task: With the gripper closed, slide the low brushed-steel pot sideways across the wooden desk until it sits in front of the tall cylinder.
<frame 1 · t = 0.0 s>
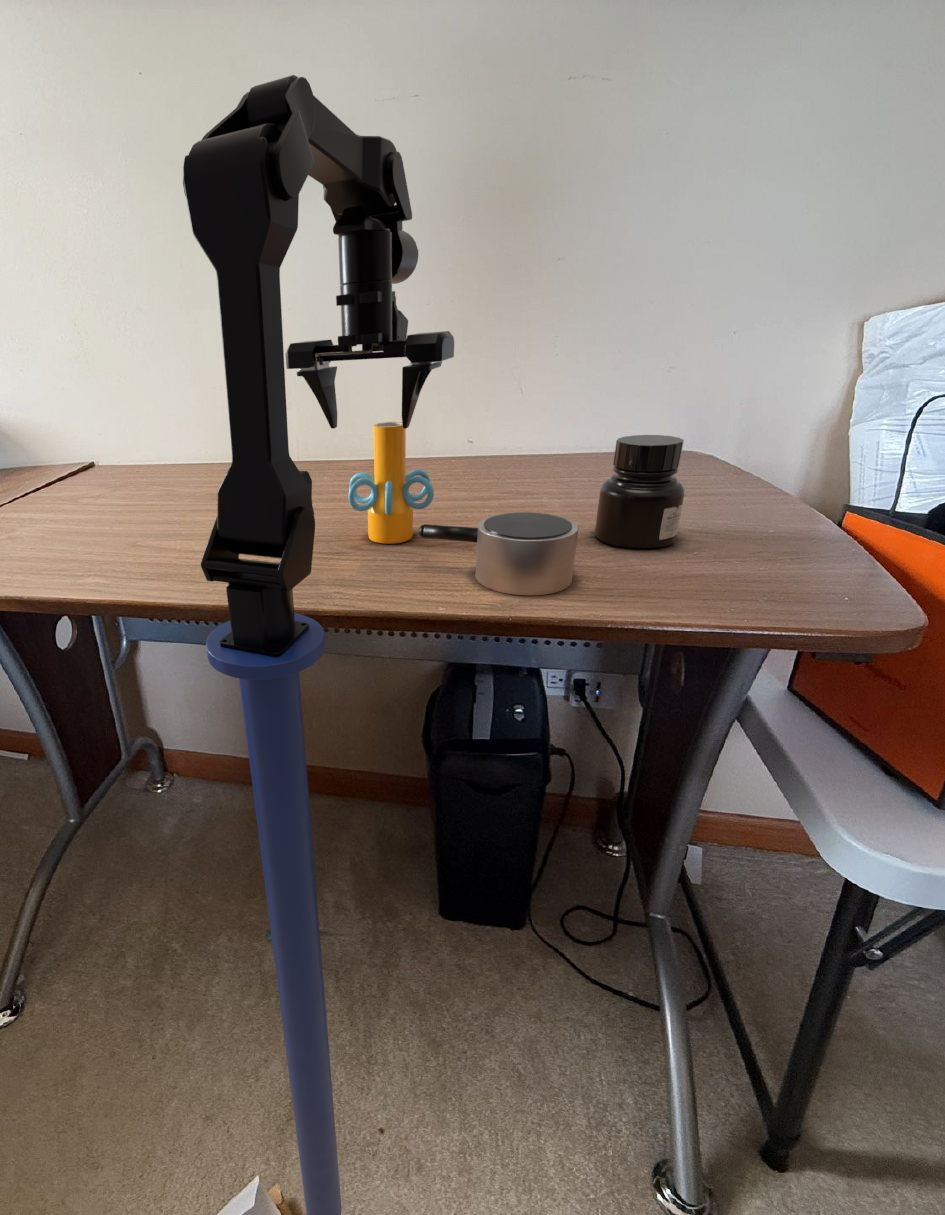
hand: (369, 427, 75), 15 cm above the table, tool pointing down, fingers open, 9 cm apart
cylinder: (390, 539, 85), on the table
ink bottle: (633, 540, 77), on the table
pot: (522, 577, 69), on the table
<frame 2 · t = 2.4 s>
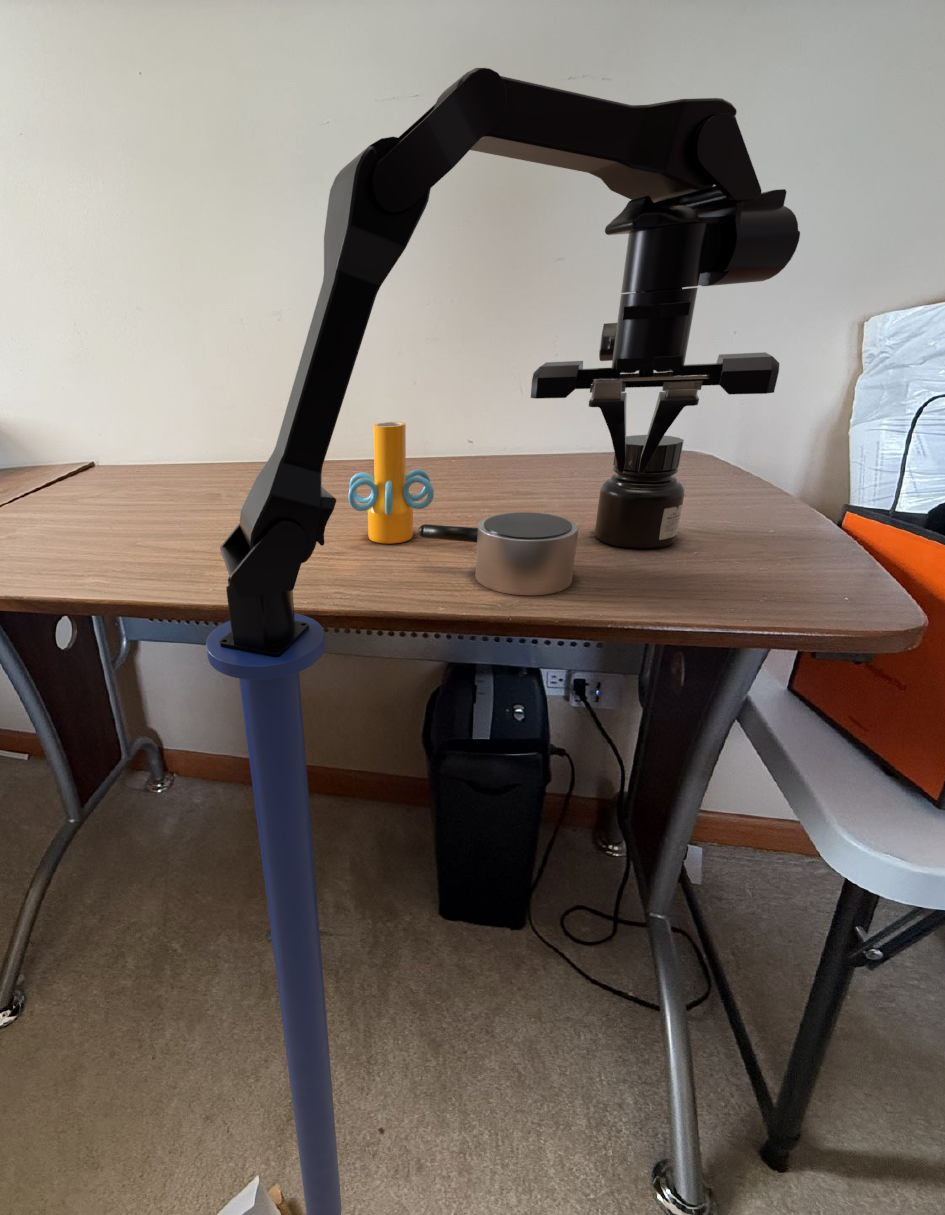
hand: (631, 471, 60), 12 cm above the table, tool pointing down, fingers closed
nothing on the table moved.
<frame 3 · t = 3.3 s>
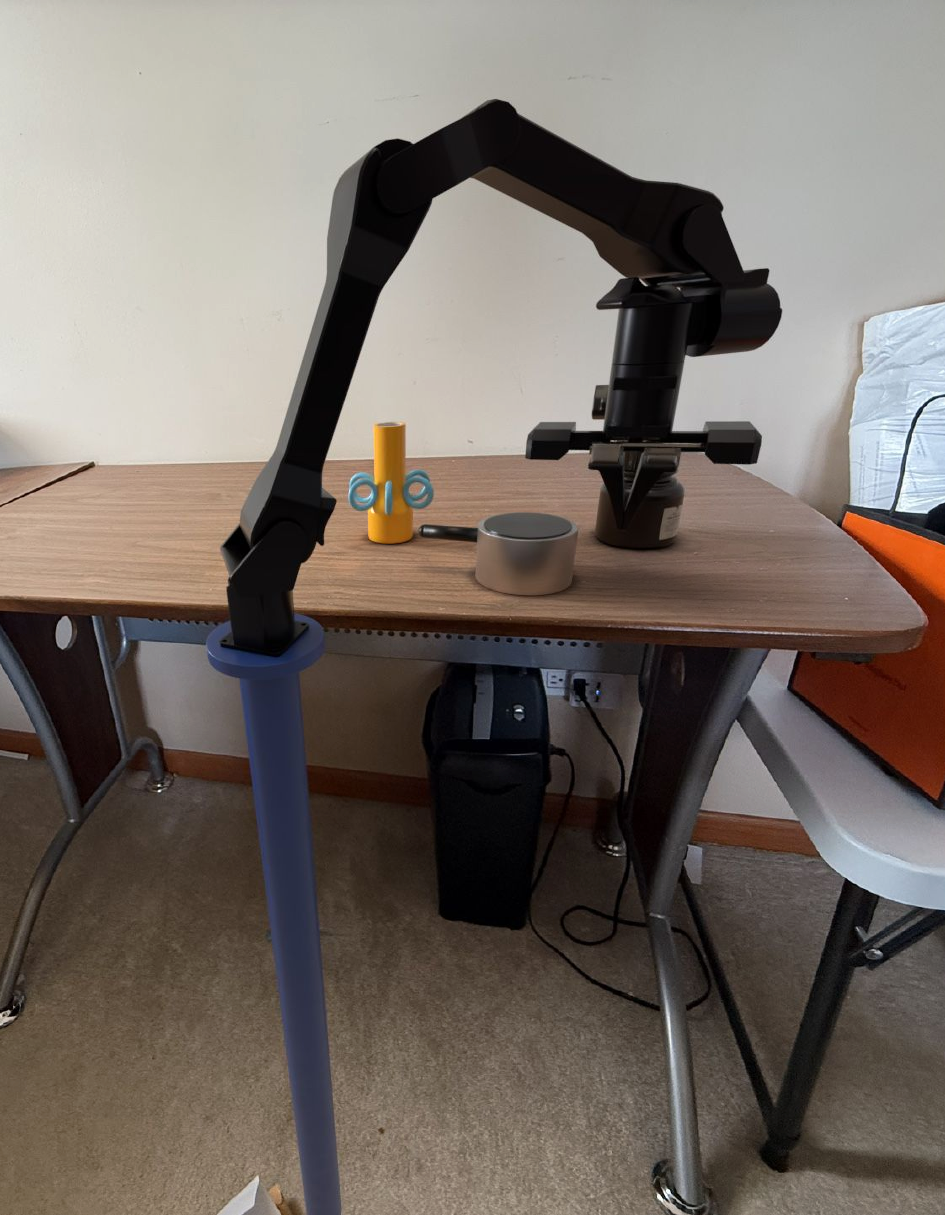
hand: (621, 529, 62), 6 cm above the table, tool pointing down, fingers closed
nothing on the table moved.
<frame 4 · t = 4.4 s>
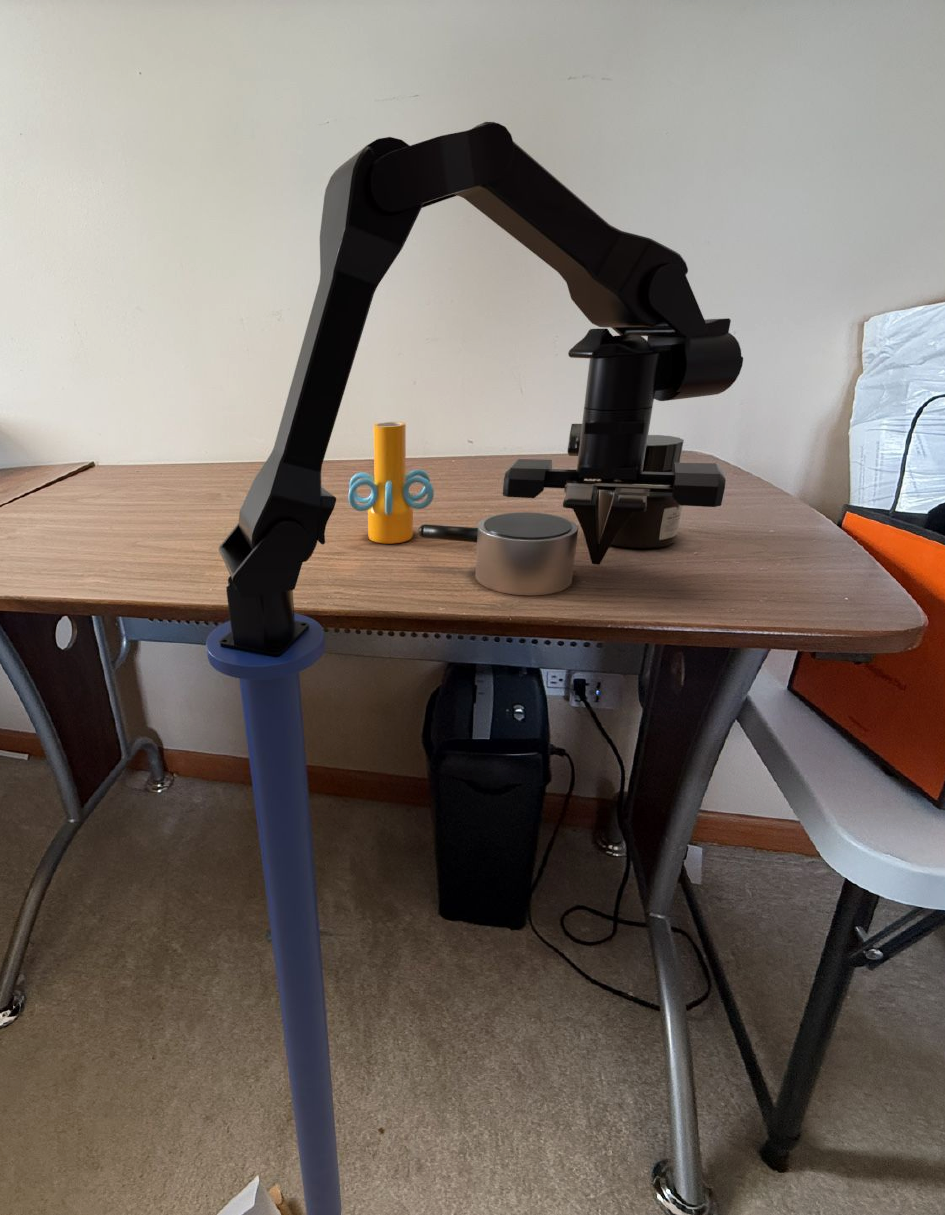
hand: (596, 563, 65), 2 cm above the table, tool pointing down, fingers closed
pot: (522, 577, 69), on the table, touching gripper
everything else where it was.
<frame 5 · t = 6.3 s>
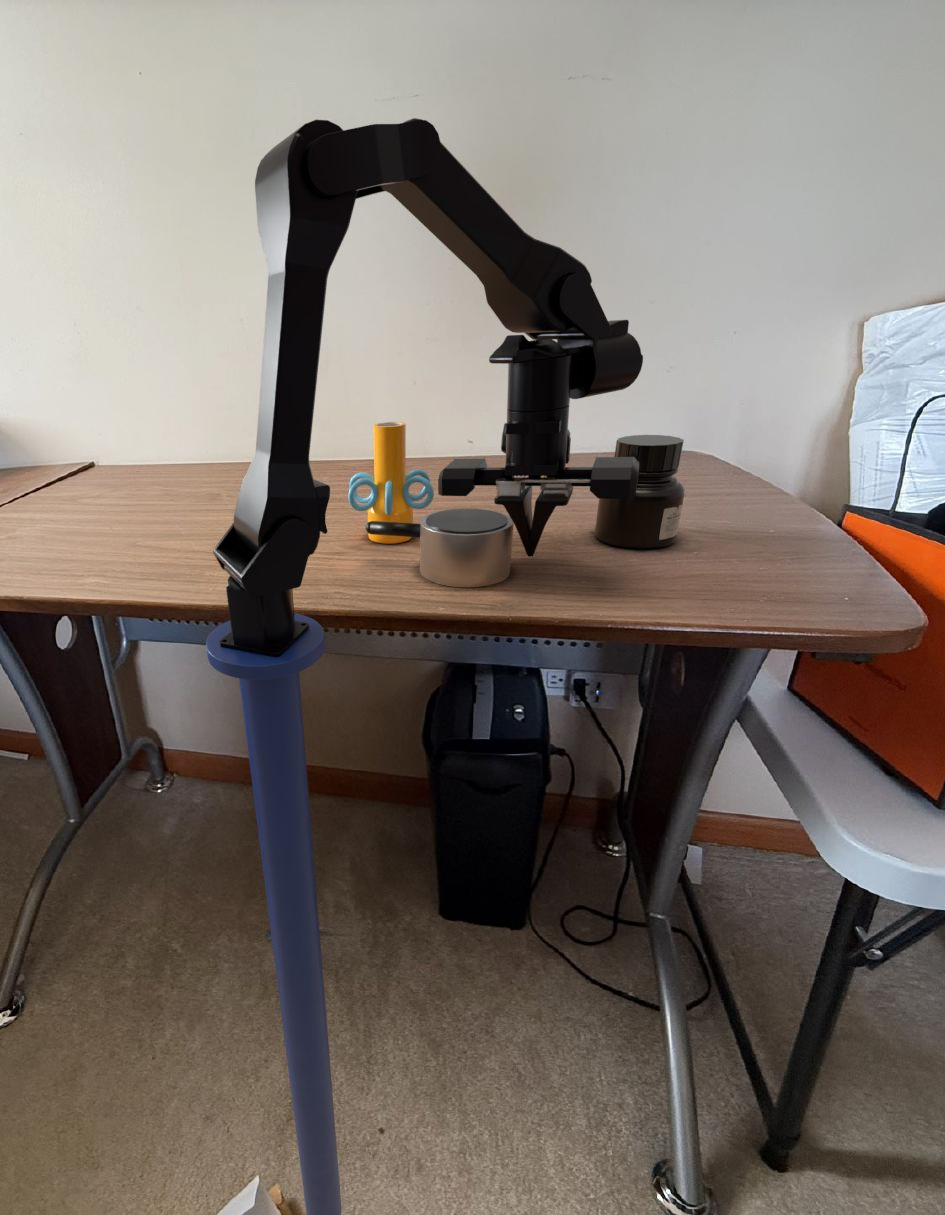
hand: (530, 555, 68), 3 cm above the table, tool pointing down, fingers closed
pot: (464, 570, 72), on the table, touching gripper
everything else where it was.
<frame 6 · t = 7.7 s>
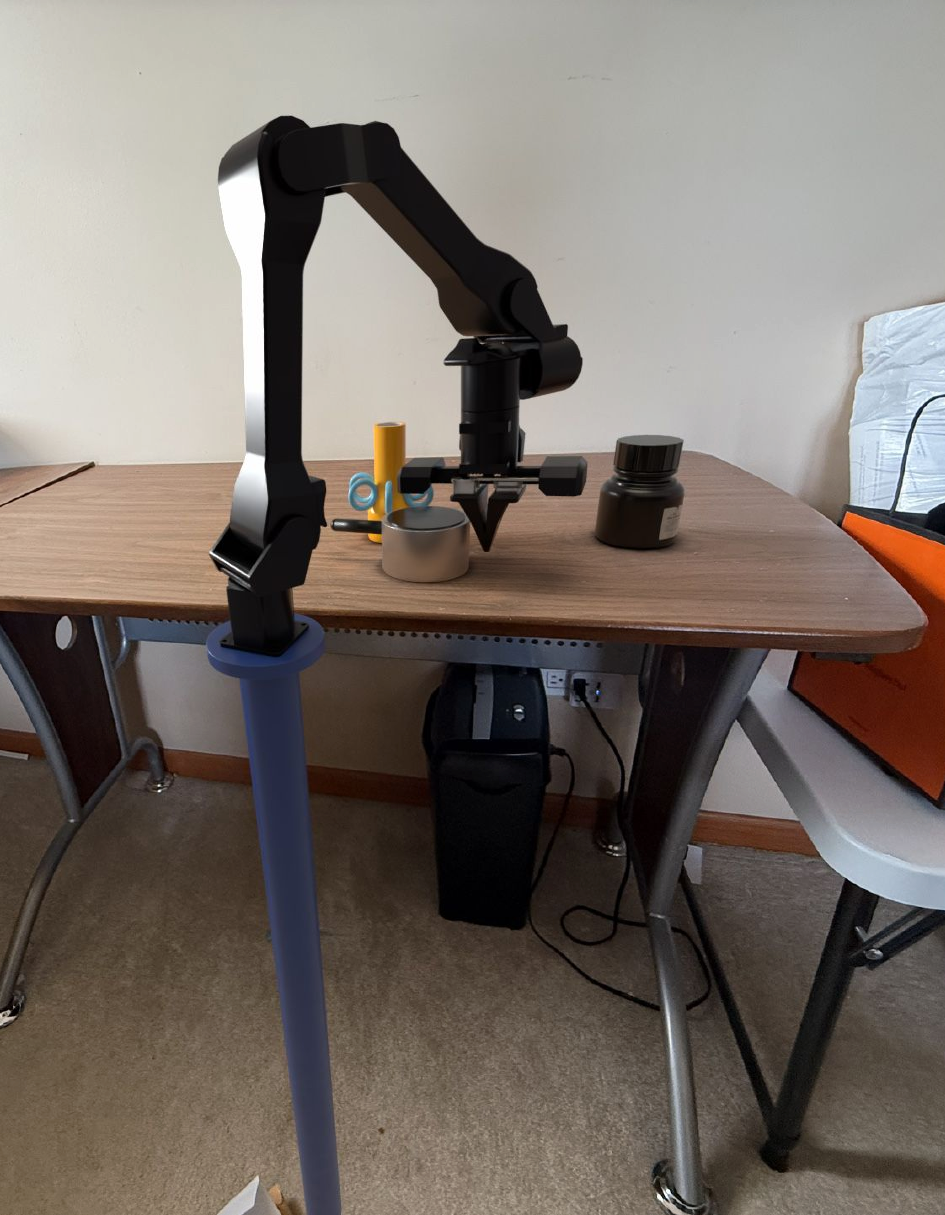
hand: (487, 551, 70), 3 cm above the table, tool pointing down, fingers closed
pot: (424, 566, 74), on the table, touching gripper
everything else where it was.
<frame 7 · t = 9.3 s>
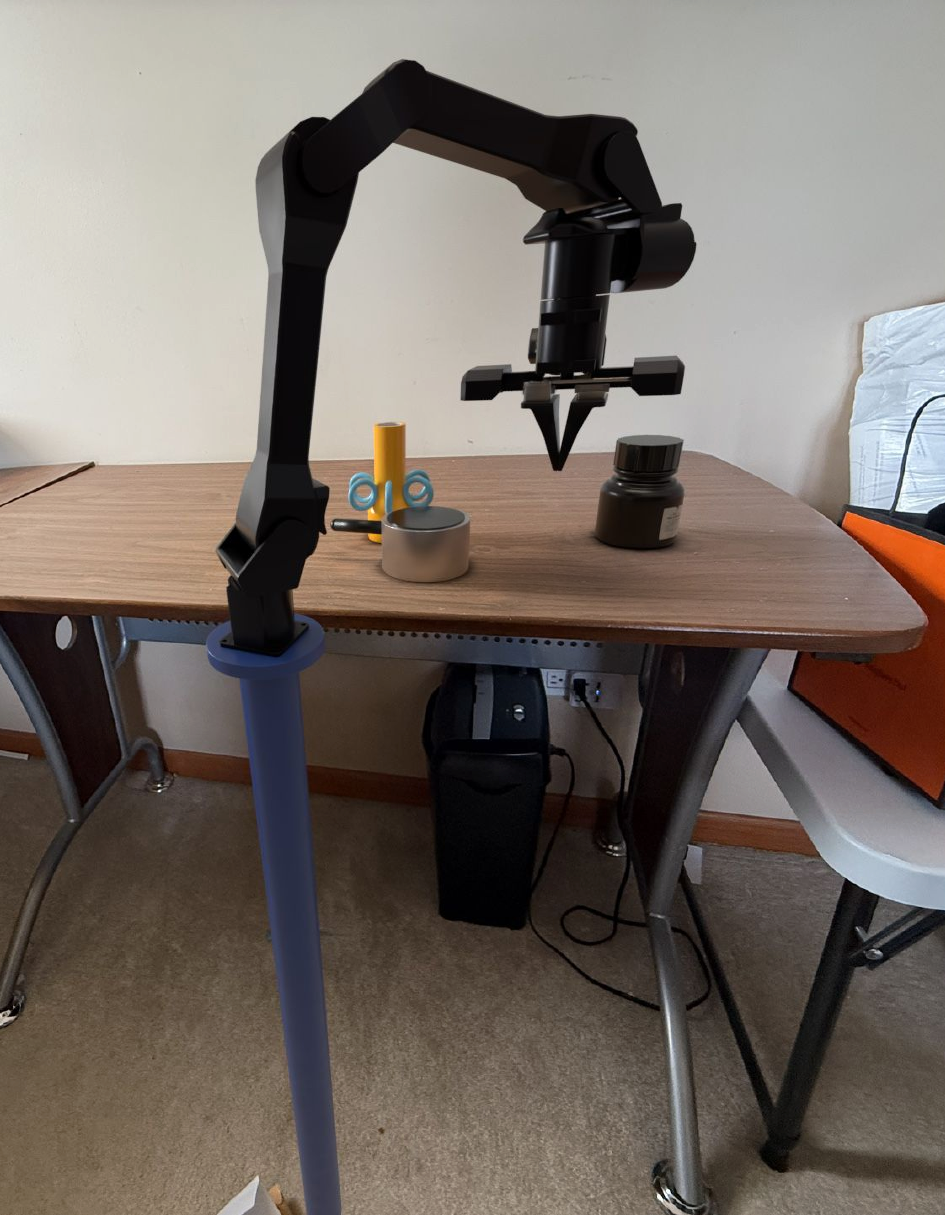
hand: (557, 470, 63), 12 cm above the table, tool pointing down, fingers closed
pot: (424, 566, 74), on the table
everything else where it was.
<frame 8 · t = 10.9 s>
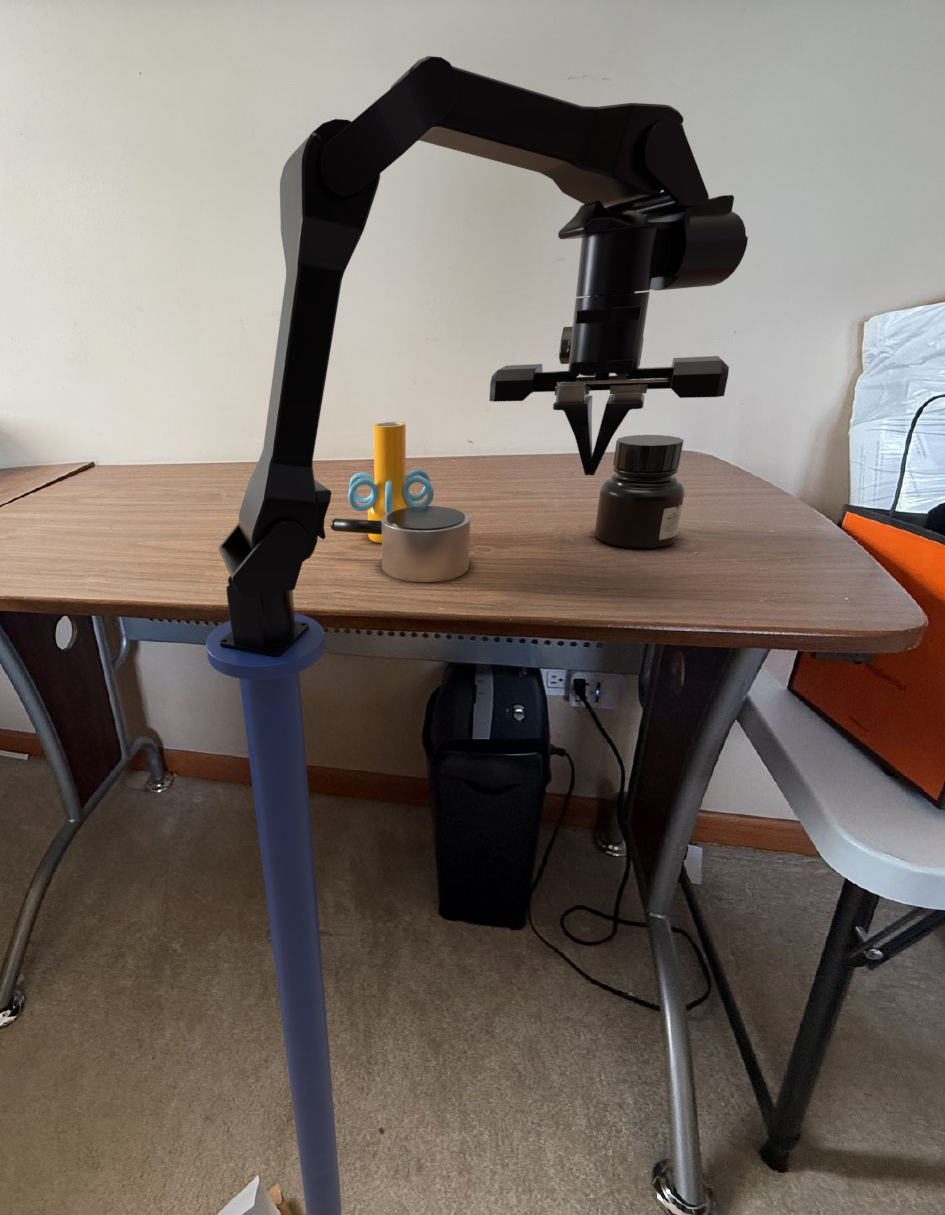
hand: (589, 474, 60), 12 cm above the table, tool pointing down, fingers closed
nothing on the table moved.
at the end: pot inside the target area (0.5 cm from its centre), on the table; pot tilted 0°; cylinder moved 0.2 cm from its start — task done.
